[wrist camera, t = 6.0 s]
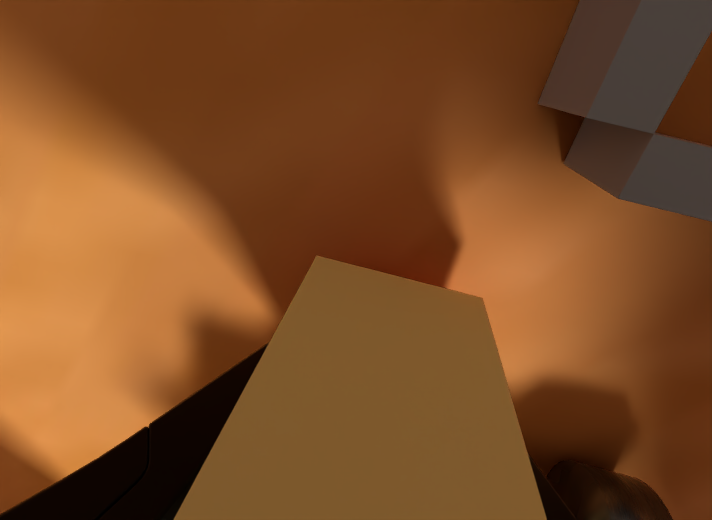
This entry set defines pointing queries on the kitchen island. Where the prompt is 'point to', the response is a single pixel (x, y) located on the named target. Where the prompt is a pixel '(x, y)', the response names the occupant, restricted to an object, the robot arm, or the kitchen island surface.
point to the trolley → (605, 494)
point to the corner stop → (633, 100)
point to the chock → (372, 412)
